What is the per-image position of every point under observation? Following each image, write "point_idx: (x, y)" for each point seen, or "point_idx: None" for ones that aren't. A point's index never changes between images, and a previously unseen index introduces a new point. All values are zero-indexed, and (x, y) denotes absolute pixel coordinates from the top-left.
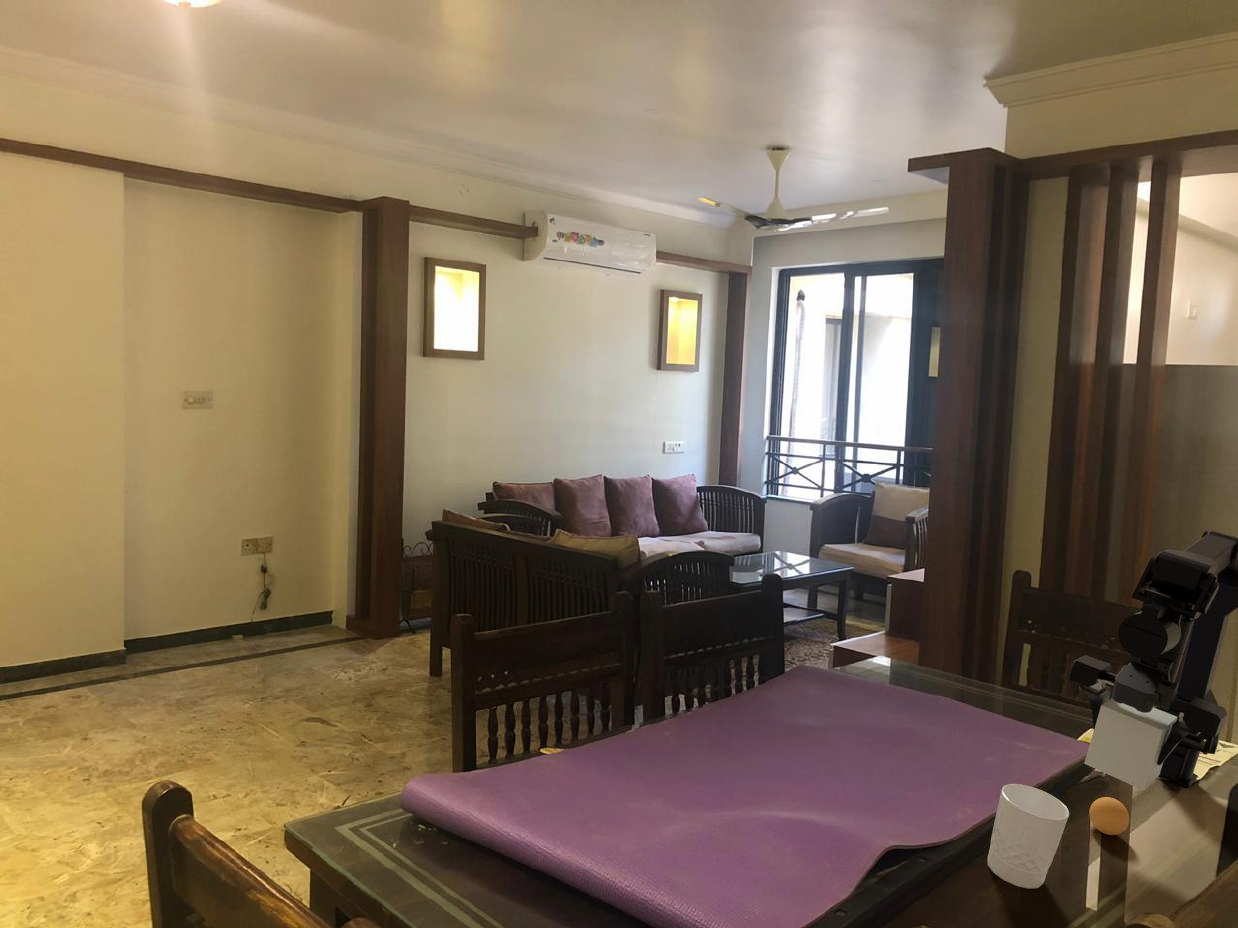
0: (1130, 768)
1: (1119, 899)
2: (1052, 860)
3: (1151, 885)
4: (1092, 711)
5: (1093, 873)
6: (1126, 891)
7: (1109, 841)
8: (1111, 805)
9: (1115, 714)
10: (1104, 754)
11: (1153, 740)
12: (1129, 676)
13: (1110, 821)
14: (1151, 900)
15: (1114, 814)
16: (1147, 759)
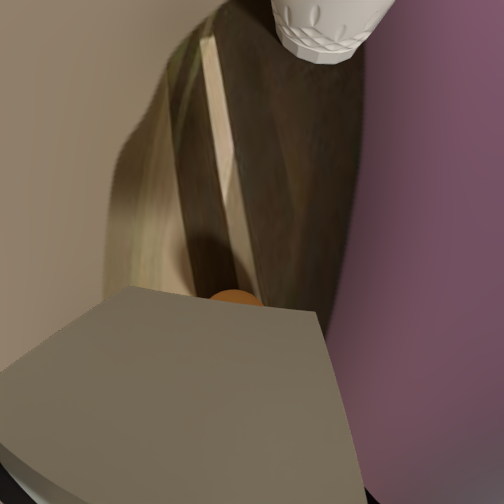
0: (156, 315)
1: (175, 96)
2: (272, 9)
3: (143, 191)
4: (369, 495)
5: (221, 133)
6: (170, 129)
7: (223, 282)
8: None
9: None
10: (257, 335)
11: (19, 376)
12: None
13: (224, 294)
14: (138, 142)
15: None
16: (82, 330)
